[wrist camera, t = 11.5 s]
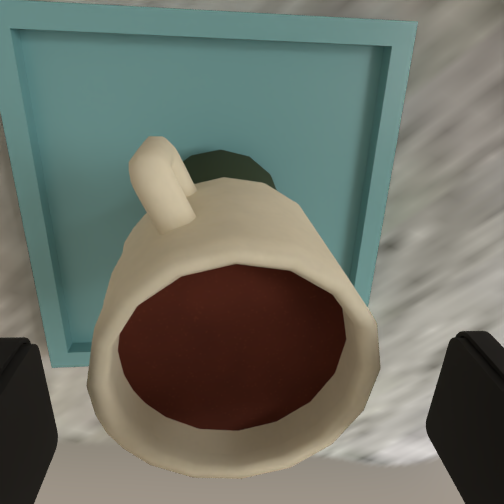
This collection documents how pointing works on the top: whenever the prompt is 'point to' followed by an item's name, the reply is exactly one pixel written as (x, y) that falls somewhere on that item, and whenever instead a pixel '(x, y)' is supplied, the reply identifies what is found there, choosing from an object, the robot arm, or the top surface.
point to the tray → (189, 129)
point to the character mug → (226, 324)
